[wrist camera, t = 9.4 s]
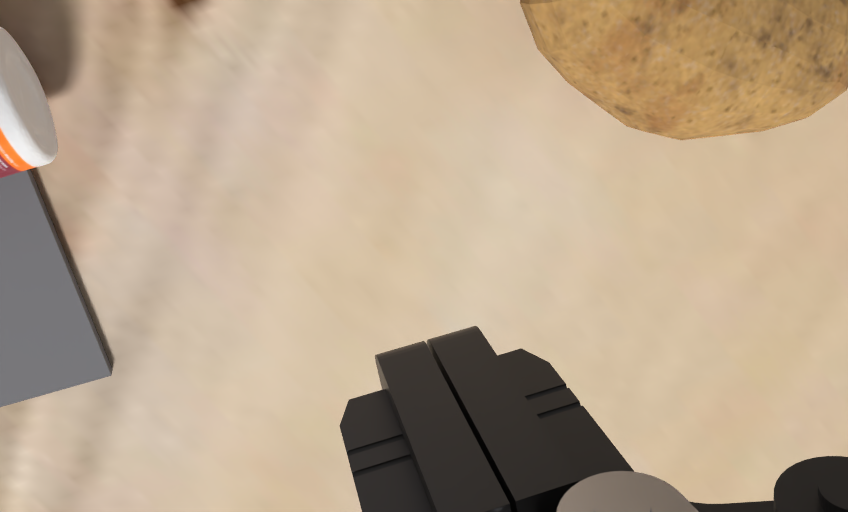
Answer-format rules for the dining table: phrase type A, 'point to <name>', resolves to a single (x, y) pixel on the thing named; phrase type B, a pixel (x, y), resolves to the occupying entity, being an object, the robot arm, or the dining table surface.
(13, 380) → the mat
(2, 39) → the pill bottle
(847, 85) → the potato
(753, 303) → the dining table surface
